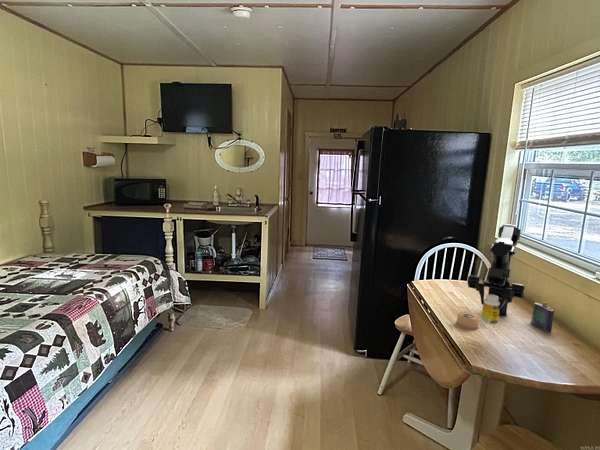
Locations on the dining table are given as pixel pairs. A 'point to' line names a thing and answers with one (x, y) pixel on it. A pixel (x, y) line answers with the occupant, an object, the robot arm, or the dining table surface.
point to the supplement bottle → (491, 309)
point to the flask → (542, 316)
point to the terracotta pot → (467, 320)
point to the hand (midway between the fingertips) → (490, 306)
